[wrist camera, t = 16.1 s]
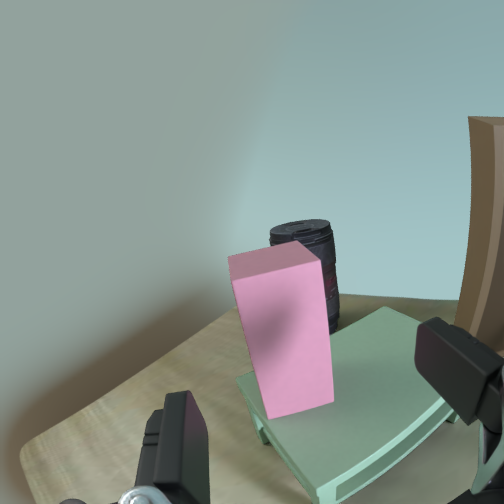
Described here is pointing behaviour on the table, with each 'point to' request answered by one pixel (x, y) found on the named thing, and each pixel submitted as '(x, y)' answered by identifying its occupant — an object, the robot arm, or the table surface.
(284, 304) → the pink box
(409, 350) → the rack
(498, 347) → the photo frame
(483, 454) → the robot arm
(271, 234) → the camera lens
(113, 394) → the table surface
